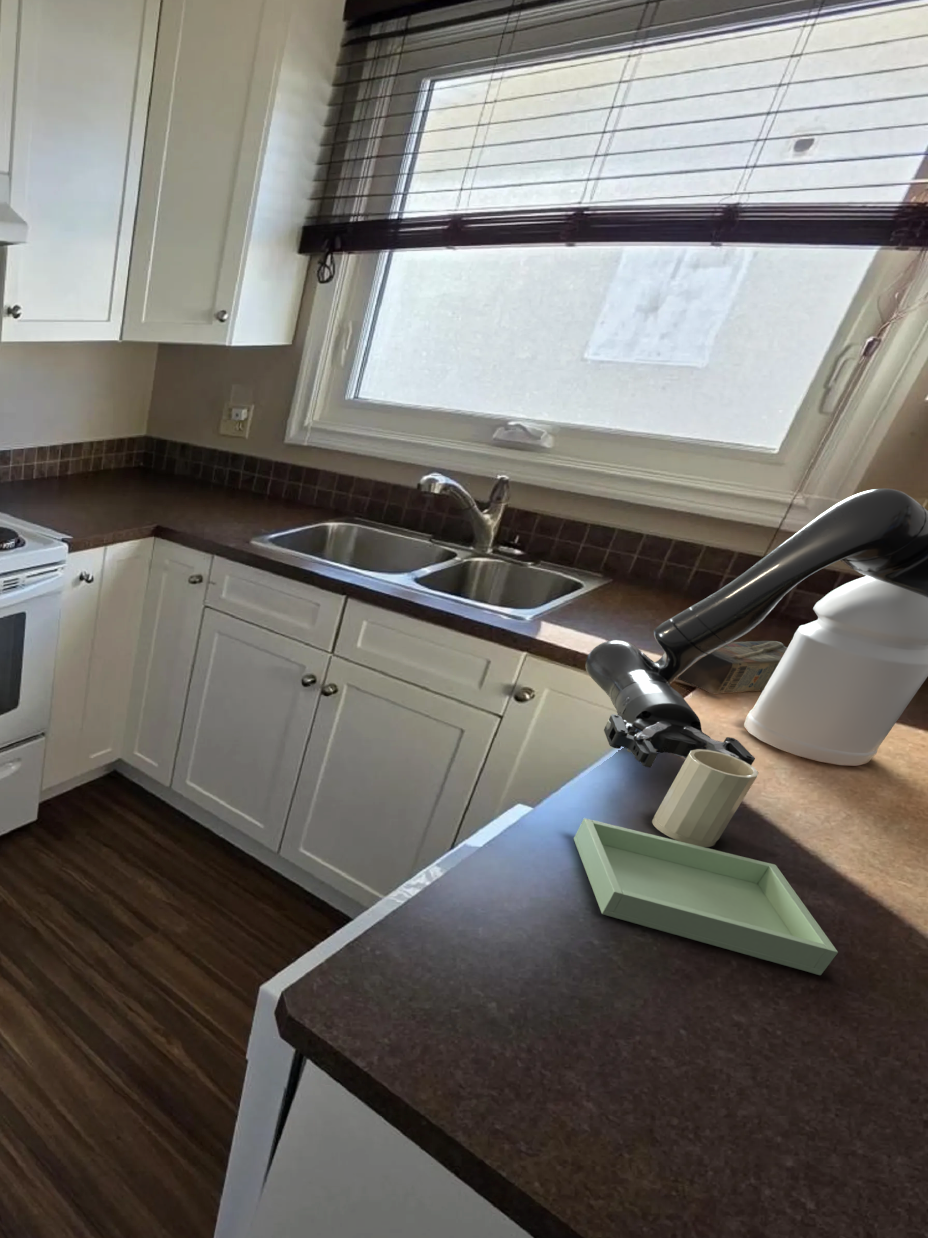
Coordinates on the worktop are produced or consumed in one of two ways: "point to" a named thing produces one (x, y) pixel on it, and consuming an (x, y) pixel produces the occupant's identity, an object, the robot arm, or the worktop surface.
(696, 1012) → the worktop surface
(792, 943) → the tray
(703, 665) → the beverage carton
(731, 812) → the cup
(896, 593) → the bottle
